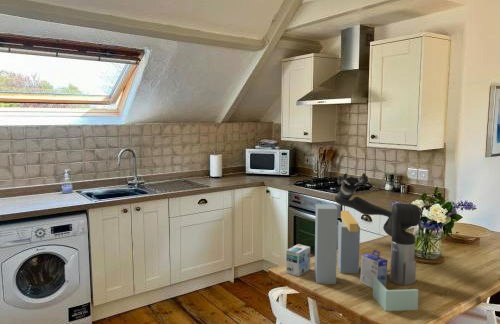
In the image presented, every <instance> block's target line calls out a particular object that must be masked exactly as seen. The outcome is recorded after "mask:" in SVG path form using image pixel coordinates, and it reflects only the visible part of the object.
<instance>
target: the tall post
mask: <svg viewBox="0 0 500 324" xmlns="http://www.w3.org/2000/svg"><path fill="white" fill-rule="evenodd" d="M338 211H339V210H338V206H336V205H335V204H333V203H331V204H327V203H326V204H325V203H324V204H323V203H322V204H319V203H318V204H317V203H315V217H314V218H315V224H314V225H315V228H314V229H315V230H314V231H315V232H314V278H315V282H316V284H328V285H329V284H331V285H332V284H335V285H336V284H337V258H338Z"/></svg>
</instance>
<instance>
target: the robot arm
mask: <svg viewBox="0 0 500 324" xmlns="http://www.w3.org/2000/svg"><path fill="white" fill-rule="evenodd" d="M368 177H369V176H368V175H366V173H365V172H364V173H363V172H362V175H361V176H359V175H358V176H348V174H347V173H346V172H345V173H343V174H342V176H341V175H339V176H338V177H337V185H338V186H339V185H341V186H340V188H339V191H338V192H337V194H336V195H335V197H334V201H335V202H336V204H338V205H340V206H343V207H348V208H351V209H354V210H356V212H358V213H360V214H362V215H365V216H375V215H376V216H384V217H387V219H386V221H385V223H384V224H383V227H382V228H383V229H382V230H383V231H384V232H385V233H386V234H387V236H390V237H391V242H390V243H391V245H390V246H391V247H390V272H389V275H390V277H389V280H390V281H391V282H393V283H394V284H398V285H401V286H404V287H405V286H409V285H412V284H416V275H417V274H416V273H417V261H416V260H415V252H416V251H415V250H416V237H415V235H414V234H413V233H412V232H409V231H407V230H408V229H410V228H411V227H416V226H418V225H419V223H420V222H421V217H422V214H421V209H420V207H419V206H418V205H417V204H414V203H393V205H392V208H391V210H388V209H386V208H383V207H380V206H378V205H376V204H373V203H371V202H369V201H367V200H365V199H363V198H362V197H360V196H354V197H353V195H354V193H355V192H356V190H357V189H358V186H359V185H360V184H362V185H363V186H364V185H366V184H367V183H368V182H369V178H368ZM352 197H353V198H352ZM351 198H352V199H351Z"/></svg>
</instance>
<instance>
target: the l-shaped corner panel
mask: <svg viewBox="0 0 500 324" xmlns="http://www.w3.org/2000/svg"><path fill="white" fill-rule="evenodd" d="M372 297H373V298H374V299H375V300H376V302H377V303H378V304H379V306H380V307H381V308H382V309H383V310H384V311H385V312H396V311H397V312H398V311H399V312H401V311H418V309H419V307H418V305H419V289H418V288H413V289H411V288H410V289H387V287H386V288H385V287H384V285H383V284H382V283H381V282H380V281H379V280H378V279H377V278H373V289H372Z"/></svg>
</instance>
